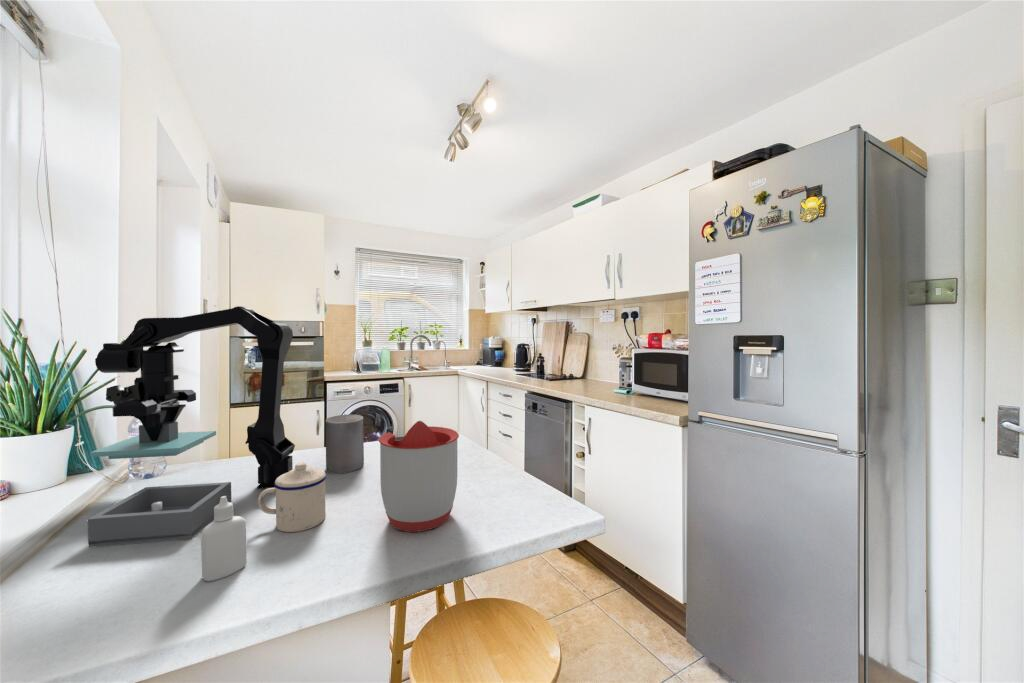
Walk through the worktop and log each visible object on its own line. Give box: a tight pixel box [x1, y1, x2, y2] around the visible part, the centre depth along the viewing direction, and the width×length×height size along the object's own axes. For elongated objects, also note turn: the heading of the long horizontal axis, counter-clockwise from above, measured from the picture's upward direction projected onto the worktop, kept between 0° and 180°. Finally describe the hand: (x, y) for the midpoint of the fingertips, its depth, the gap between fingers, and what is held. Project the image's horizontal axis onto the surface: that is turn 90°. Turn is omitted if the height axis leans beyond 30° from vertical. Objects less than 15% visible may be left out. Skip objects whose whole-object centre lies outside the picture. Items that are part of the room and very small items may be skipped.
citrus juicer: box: [378, 420, 460, 533], centre depth 80 cm, size 16×17×20 cm
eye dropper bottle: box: [200, 496, 248, 582], centre depth 62 cm, size 4×6×12 cm
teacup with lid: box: [257, 462, 327, 533], centre depth 78 cm, size 12×9×12 cm
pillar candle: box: [325, 413, 365, 474], centre depth 108 cm, size 10×10×15 cm
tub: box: [87, 481, 232, 548], centre depth 77 cm, size 16×14×5 cm
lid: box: [89, 421, 217, 460], centre depth 92 cm, size 17×15×6 cm
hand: (159, 438), depth 92 cm, fingers closed on lid, 3 cm apart
